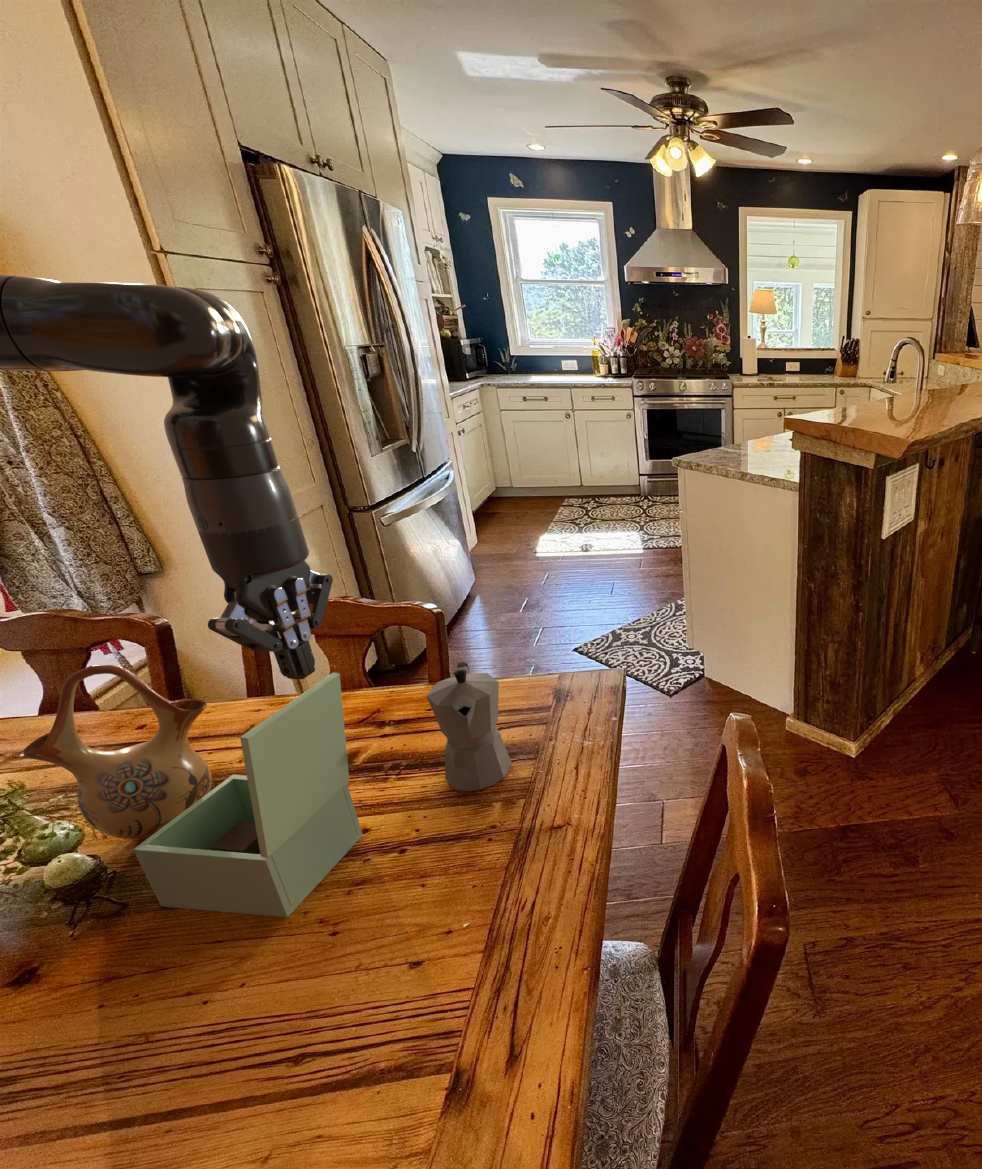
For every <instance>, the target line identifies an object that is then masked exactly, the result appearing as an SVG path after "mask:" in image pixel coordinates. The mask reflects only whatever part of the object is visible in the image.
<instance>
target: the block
mask: <svg viewBox="0 0 982 1169" xmlns="http://www.w3.org/2000/svg"><path fill="white" fill-rule="evenodd" d="M209 850H212V851H224V852H236V853H248V854H260V849H259V843H258V837H257V832H256V826H255V822H244V821H239V822H238V823H237V824H236V825H234V826H233V827H232V828H231V829H230V830H229V831H227V832H226V833H225V834H224V835H223V836H222V837H220V838H219V839H218V840H217V841H216V842H215V843H214V844H212V845H211V846H210V847H209Z"/></svg>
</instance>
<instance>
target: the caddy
mask: <svg viewBox="0 0 982 1169" xmlns="http://www.w3.org/2000/svg"><path fill="white" fill-rule="evenodd" d="M239 821H244V822H255V820H254V814H253V809H252V803H251V797H250V791H249V785H248V780H247V775H246V774H245V775H244V774H232V775H230V776H229V777H228V778H226V779H225V780H223V781H222V782H220V784H218V785H217V786H216V787H214V788H213V789H211V791H210V792H209V793H208V794H206V795H205V796H204V797H202V798H201V799H200V800H198V801H197V802H196V803H194V804H193V805H192V806H190V807H189V808H188V809H186V810H185V811H184V812H182V813H181V814H180V815H178V816H177V817H176V818H174V819H173V820H172V821H170V822H169V823H168V824H166V825H165V826H164V827H162V828H161V829H160V830H158V831H157V832H156V833H154V834H153V835H152V836H150V837H149V838H148V839H144V840H143V841H142V842H140V844H139V845H137V846H136V847H134V848H133V849H132V851H133V854H134V855H135V857H136V859H137V861H138V863H139V865H140V867H141V869H142V871H143V874H144V875H145V877H146V879H147V882H148V883H149V885H150V888H151V889H152V892H153V894H154V895H155V897H156V899H157V902H158V903H159V905H160V907H163V908H176V909H187V910H197V911H207V912H209V911H210V912H219V913H220V912H221V913H231V914H241V915H242V914H243V915H253V916H265V917H274V918H275V917H276V918H289V917H290V915H291V914H292V913H293V912H294V911H295V910H296V909H297V908H298V907H299V906H300V905H301V904H302V903H303V902H304V900H306V899H307V897H308V896H309V895H310V894H311V893H312V892H313V890H314V889H316V887H317V886H318V885H319V884H320V883H321V882H322V881H323V880H324V879H325V877H327V875H328V874H329V873H330V872H331V871H332V870H333V869H334V867H335V866H336V865H338V863H339V862H340V861H341V860H342V859H343V858H344V857H345V856H346V855H347V853H348V852H350V851H351V849H352V848H353V847H354V846H355V845H356V844H357V842H359V840H360V839H361V838H362V837H363V836H364V834H363V831H362V828H361V825H360V821H359V817H358V815H357V812H356V808H355V805H354V802H353V798H352V794H351V791H350V788H349V784H348V783H347V784H345V785H344V786H343V787H342V788H341V789H340V790H339V791H338V792H337V793H336V794H335V795H334V796H333V797H332V798H331V799H330V800H329V801H328V802H326V803H325V804H324V805H323V806H322V807H321V808H320V809H319V810H318V811H317V812H316V813H315V814H314V815H313V816H312V817H311V818H310V819H308V820H307V821H306V822H305V823H304V824H303V825H302V826H301V827H300V828H299V829H298V830H297V831H296V832H295V833H294V834H293V835H292V836H291V837H289V838H288V839H287V840H286V841H285V842H284V843H283V844H282V845H281V846H280V847H279V848H278V849H277V850H276V851H275V852H274V853H273V854H272V855H270V856H269V857H268V858H264V857H261V855H260V854H248V853H236V852H224V851H212V850H209V847H210V846H211V845H212V844H214V843H215V842H216V841H217V840H218V839H219V838H220V837H222V836H223V835H224V834H225V833H226V832H227V831H229V830H230V829H231V828H232V827H233V826H234V825H236V824H237V823H238V822H239Z"/></svg>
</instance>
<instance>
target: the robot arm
mask: <svg viewBox="0 0 982 1169" xmlns="http://www.w3.org/2000/svg"><path fill="white" fill-rule="evenodd" d="M0 371H23V372H25V371H26V372H27V371H28V372H79V371H91V372H98V373H107V374H115V375H116V374H117V375H126V376H135V377H136V376H137V377H150V378H151V377H152V378H167V380H168V384H169V388H170V393H171V397H172V405H171V408H170V409H169V410H168V411H167V413H166V415H165V416H164V419H163V427H164V431H165V436H166V439H167V442H168V444H169V447H170V450H171V453H172V455H173V458H174V462H175V463H176V466H177V468H178V471H179V474H180V476H181V480H182V483H183V488H184V494H185V498H186V502H187V505H188V506H187V507H188V509H189V511H190V514H191V517H192V519H193V522H194V525H195V527H196V530H197V532H198V535H199V538H200V541H201V544H202V546H203V550H204V551H205V554H206V556H207V559H208V562H209V564H210V567H211V570H212V571H213V572H214V573H215V574H216V575H217V576H219V577H220V578H221V580H222V581H223V583H224V591H223V597H224V601H225V602H226V603H227V605H226V606H225V609H224V610H223V611H222V613H221V616H220V617H211V618H210V619H209V620H208V622H207V628H208V629H209V630H210V631H212V632H214V633H216V634H218V635H220V636H222V637H224V638H226V639H228V640H230V641H232V642H233V643H235V644H238V645H239V646H242V647H244V648H246V649H248V650H249V651H251V652H269V653H271V652H272V653H273V655H274V657H275V660H276V663H277V666H278V668H279V672H280V674H281V675H282V676H283V677H286V678H287V679H289V680H304V679H306V678H308V677H309V676H310V675H312V674H313V673H315V672H316V667H315V666H316V660H315V657H314V653H313V650H312V647H311V644H310V640H311V637H312V631H313V630H314V629H319V628H321V626H322V625H323V621H324V618H325V613H326V610H327V605H328V601H329V598H330V594H331V589H332V585H333V582H334V578H333V576H332V575H331V574H330V573H318V572H315V571H313V570H311V567H310V564H309V563H308V562H307V561H306V559H308V557H309V555H310V550H309V548H308V543H307V540H306V537H305V534H304V531H303V528H302V524H301V521H300V517H299V515H298V512H297V511H298V510H297V508H296V505H295V501H294V498H293V495H292V492H291V489H290V487H289V485H288V482H287V480H286V478H285V476H284V474H283V472H282V469H281V467H280V466H279V465H280V464H279V460H278V457H277V454H276V451H275V448H274V444H273V441H272V438H271V435H270V432H269V429H268V427H267V425H266V423H265V419H264V412H263V397H262V387H261V378H260V370H259V364H258V358H257V352H256V349H255V345H254V342H253V340H252V337H251V333H250V332H249V330H248V327H247V325H246V323H245V322H244V320H243V319H242V317H241V315H240V314H239V313H238V312H237V311H236V310H235V309H234V308H233V307H232V306H231V305H230V304H228V303H227V302H226V301H225V300H223V299H222V298H220V297H218V296H216V295H214V294H212V293H210V292H208V291H205V290H202V289H197V288H192V287H183V286H173V285H172V286H171V285H163V284H162V285H161V284H148V283H127V282H125V283H121V282H80V281H79V282H75V281H73V282H72V281H71V282H69V281H67V282H66V281H65V282H62V281H59V280H54V279H49V278H48V279H47V278H41V277H35V276H24V275H10V274H0ZM310 607H312V609H310Z"/></svg>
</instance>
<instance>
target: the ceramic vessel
mask: <svg viewBox="0 0 982 1169" xmlns="http://www.w3.org/2000/svg"><path fill="white" fill-rule="evenodd" d="M96 675H113V676H116V677H118V678H120V679H122V680H123V681H124V682H125V683H127V684H128V685H129V686H131V687H132V688H133V689H134V690H135V691H136V692H137V693H138V694H139V695H140V696H141V697H142V698H143V699H144V700H145V702H146V703H147V704H148V705H149V707H150V708H151V710H152V711H153V713H154V714H155V717H156V719H157V722H158V729H157V731H156V733H155V734H154V735H153V736H152V737H151V738H150V739H149V740H147V741H145V742H141V743H137V744H134V745H131V746H130V745H129V746H127V747H123V748H119V749H116V750H100V749H95V748H93V747H90V746H88V745H87V744H86V743H84V742H83V741H82V739H81V738H80V736H79V732H78V730H77V726H76V721H75V714H74V710H75V708H74V705H75V696H76V695H75V694H76V691H77V688H78V685H79V683H80V682H81V681H83V680H85V679H87V678H89V677H92V676H96ZM207 706H208V705H207V702H206V701H204V700H201V699H197V698H182V699H177V700H169V699H168V698H166V697H165V696H162V695H161V694H160V693H158V692H157V691H156V690H155V689H153V688H151V686H149V685H148V684H147V683H146V682H145V681H143V679H141V678H140V677H139V676H138V675H136V674H135V673H133V672H132V671H130V670H129V669H127V668H125V667H122V666H119V665H114V664H95V665H89V666H86V667H84V668H82V669H80V670H77V671H75V672H74V673H72V674H70V675H69V676H68V677H67V678H66V679H65V681H64V682H63V684H62V688H61V692H60V696H59V701H58V706H57V711H56V714H55V715H56V716H55V718H54V722H53V724H52V727H51V729H50V731H49V732H47V733H45V734H43V735H41V736H39V737H38V738H36V739H35V740H33V741H32V742H30V743H29V744H28V745H26V747H25V748H24V749H23V750H22V751H21V752H20V754H19V755H20V756H19V757H22V758H24V759H31V760H35V761H42V762H46V763H50V764H53V765H56V766H59V767H61V768H63V769H65V770H66V771H68V772H70V774H72V775H73V776H74V778H75V780H76V782H77V785H78V786H77V787H78V790H77V805H78V809H79V811H80V814H81V816H82V817H83V819H84V820H85V821H86V822H87V823H88V825H90V826H91V827H92V828H93V829H95V830H96V831H98V832H100V833H102V834H104V835H106V836H109V837H112V838H116V839H121V840H133V841H134V840H135V841H136V840H137V841H138V840H139V841H142V840H146V839H148V838H149V837H150V836H152V835H153V834H154V833H156V832H157V831H158V830H160V829H161V828H162V827H164V826H165V825H166V824H168V823H169V822H170V821H172V820H173V819H174V818H176V817H177V816H178V815H180V814H181V813H182V812H184V811H185V810H186V809H188V808H189V807H190V806H192V805H193V804H194V803H196V802H197V801H198V800H200V799H201V798H202V797H204V796H205V795H206V794H208V793H209V792H210V791H212V785H213V780H212V774H211V770H210V767H209V765H208V763H207V762H206V760H205V759H204V757H202V756H201V754H199V753H198V752H196V751H195V750H194V749H193V748H192V746H191V745H190V742H189V732H190V729H191V727H192V725H193V724H194V722H195V721H196V720H197V719H198V717H199V716H201V714H202V713H203V711H205V709H206V708H207Z"/></svg>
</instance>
